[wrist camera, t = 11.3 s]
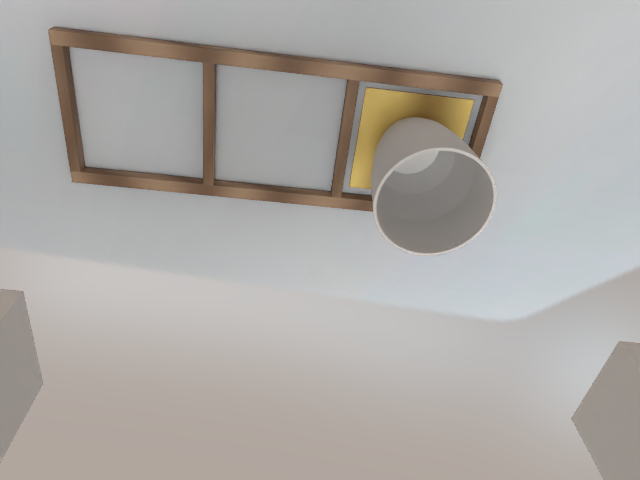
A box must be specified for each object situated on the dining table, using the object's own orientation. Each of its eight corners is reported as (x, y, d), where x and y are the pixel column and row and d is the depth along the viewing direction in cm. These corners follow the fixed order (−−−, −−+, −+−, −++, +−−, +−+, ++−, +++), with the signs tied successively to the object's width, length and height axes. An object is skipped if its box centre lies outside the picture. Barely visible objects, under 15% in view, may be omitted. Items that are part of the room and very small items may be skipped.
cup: (427, 202, 45) (454, 270, 37) (344, 169, 43) (352, 232, 35) (478, 121, 41) (521, 176, 33) (389, 81, 39) (410, 128, 31)
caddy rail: (76, 176, 44) (72, 182, 43) (54, 26, 37) (48, 29, 36) (457, 214, 46) (460, 220, 45) (498, 80, 40) (502, 84, 39)
